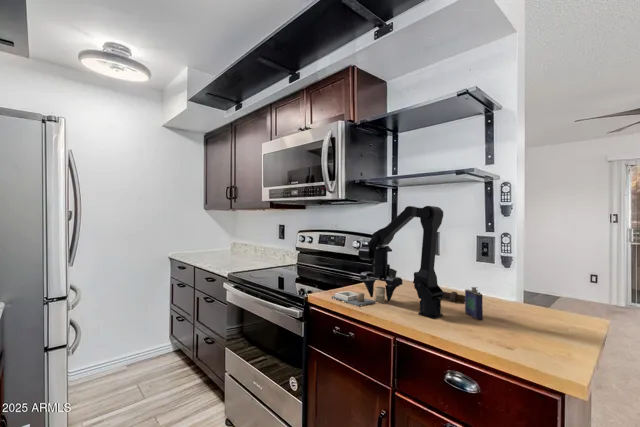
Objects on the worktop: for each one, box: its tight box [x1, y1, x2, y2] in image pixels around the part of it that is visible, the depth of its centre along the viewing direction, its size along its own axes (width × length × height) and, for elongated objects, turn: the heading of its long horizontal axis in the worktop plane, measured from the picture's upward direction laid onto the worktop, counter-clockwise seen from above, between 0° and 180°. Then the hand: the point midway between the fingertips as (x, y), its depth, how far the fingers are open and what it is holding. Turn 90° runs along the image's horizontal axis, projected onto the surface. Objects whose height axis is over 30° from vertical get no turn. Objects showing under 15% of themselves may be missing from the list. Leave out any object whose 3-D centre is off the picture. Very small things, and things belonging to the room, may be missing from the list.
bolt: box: [440, 291, 465, 304], centre depth 135 cm, size 6×5×15 cm
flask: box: [464, 286, 484, 322], centre depth 112 cm, size 9×3×11 cm, turn 4°
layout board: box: [331, 290, 376, 307], centre depth 132 cm, size 16×10×4 cm, turn 38°
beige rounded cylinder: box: [374, 286, 386, 304], centre depth 130 cm, size 4×4×6 cm
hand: (380, 299), depth 130 cm, fingers open, 9 cm apart
